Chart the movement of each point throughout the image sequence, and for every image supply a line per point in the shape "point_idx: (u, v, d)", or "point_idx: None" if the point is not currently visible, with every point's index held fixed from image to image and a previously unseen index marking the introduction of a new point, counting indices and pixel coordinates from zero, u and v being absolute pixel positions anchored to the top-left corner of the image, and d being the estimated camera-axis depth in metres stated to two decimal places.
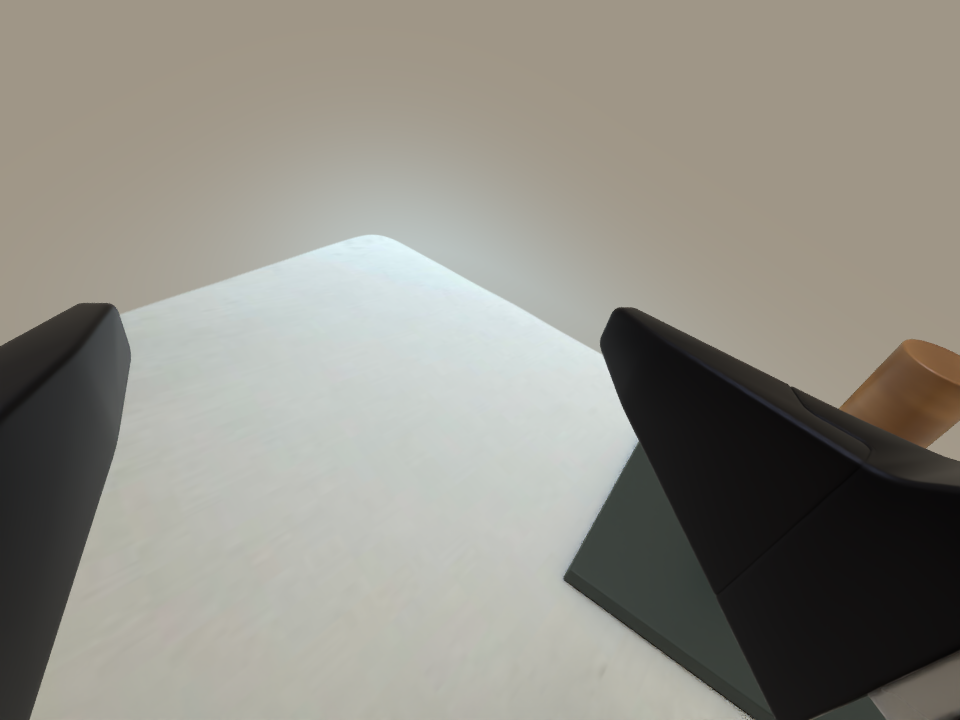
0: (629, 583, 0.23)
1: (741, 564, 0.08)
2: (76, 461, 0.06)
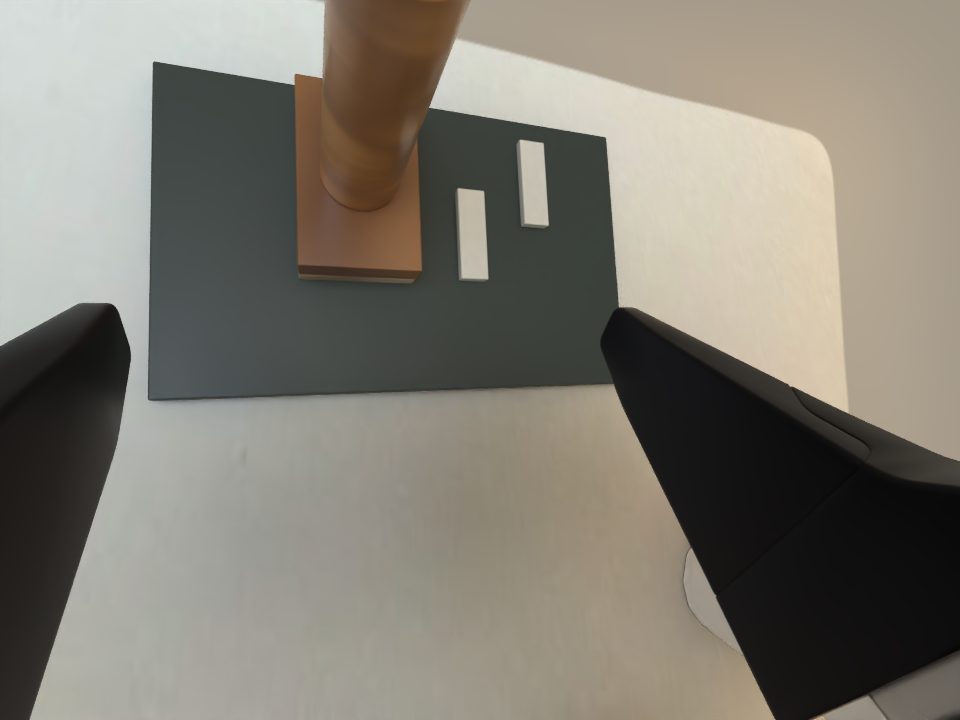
0: (226, 364, 0.19)
1: (741, 564, 0.08)
2: (76, 461, 0.06)
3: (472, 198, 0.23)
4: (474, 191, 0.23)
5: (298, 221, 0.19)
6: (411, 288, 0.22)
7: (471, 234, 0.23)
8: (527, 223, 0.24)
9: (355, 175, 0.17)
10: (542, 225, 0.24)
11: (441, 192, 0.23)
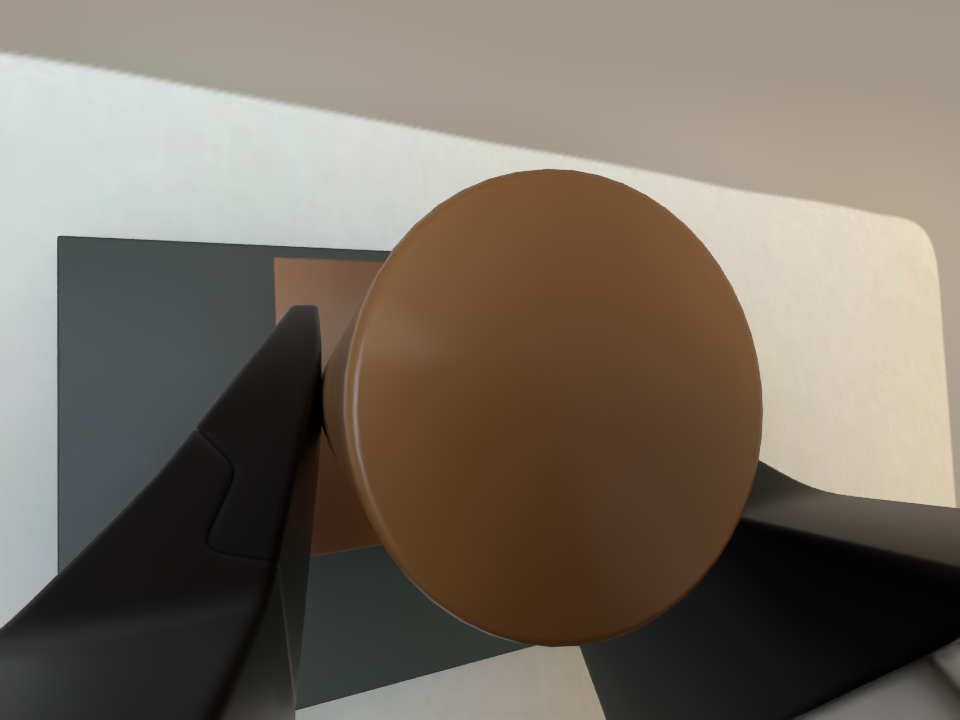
0: None
1: None
2: (316, 440, 0.07)
3: None
4: None
5: None
6: None
7: None
8: None
9: None
10: None
11: None
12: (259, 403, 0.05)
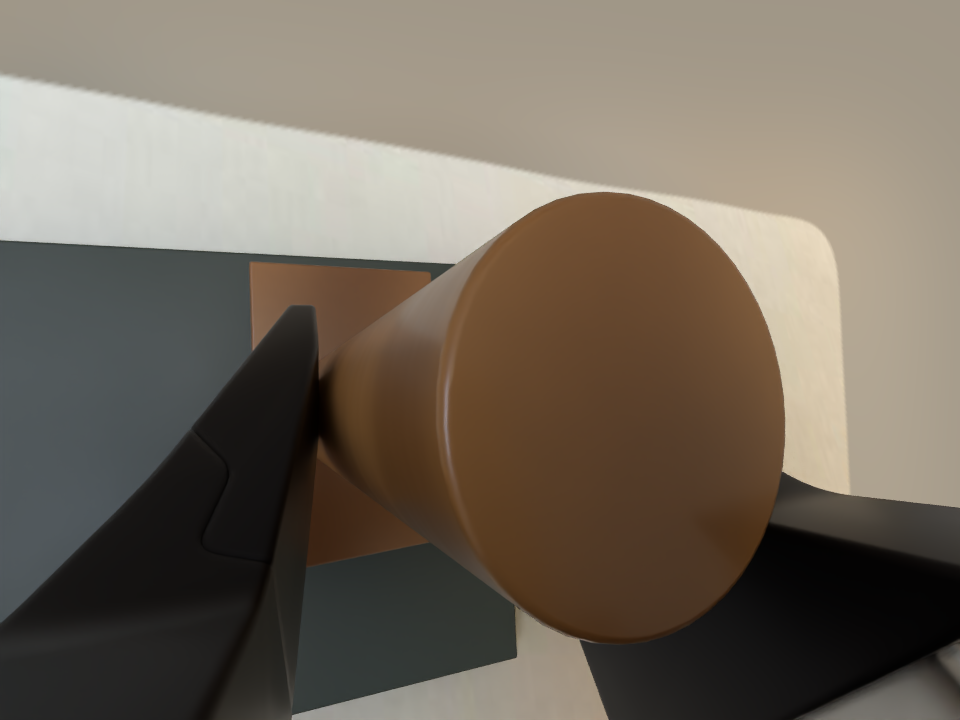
0: None
1: None
2: (313, 440, 0.07)
3: None
4: None
5: None
6: None
7: None
8: None
9: None
10: None
11: (194, 394, 0.14)
12: (255, 403, 0.05)
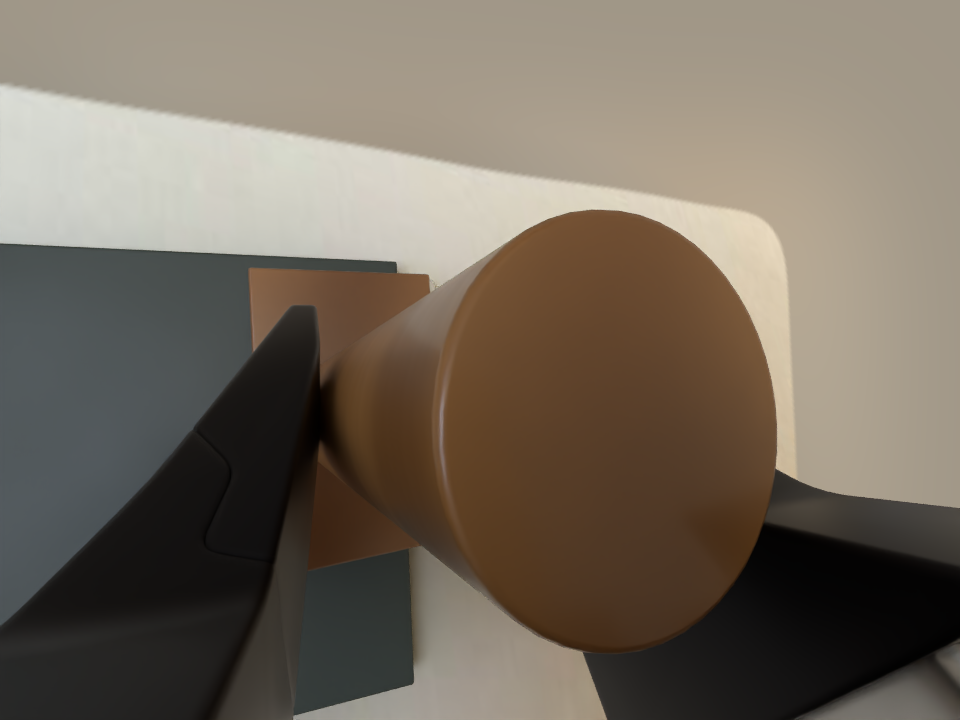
0: None
1: None
2: (315, 440, 0.07)
3: None
4: None
5: None
6: None
7: None
8: None
9: None
10: None
11: (35, 403, 0.13)
12: (257, 403, 0.05)
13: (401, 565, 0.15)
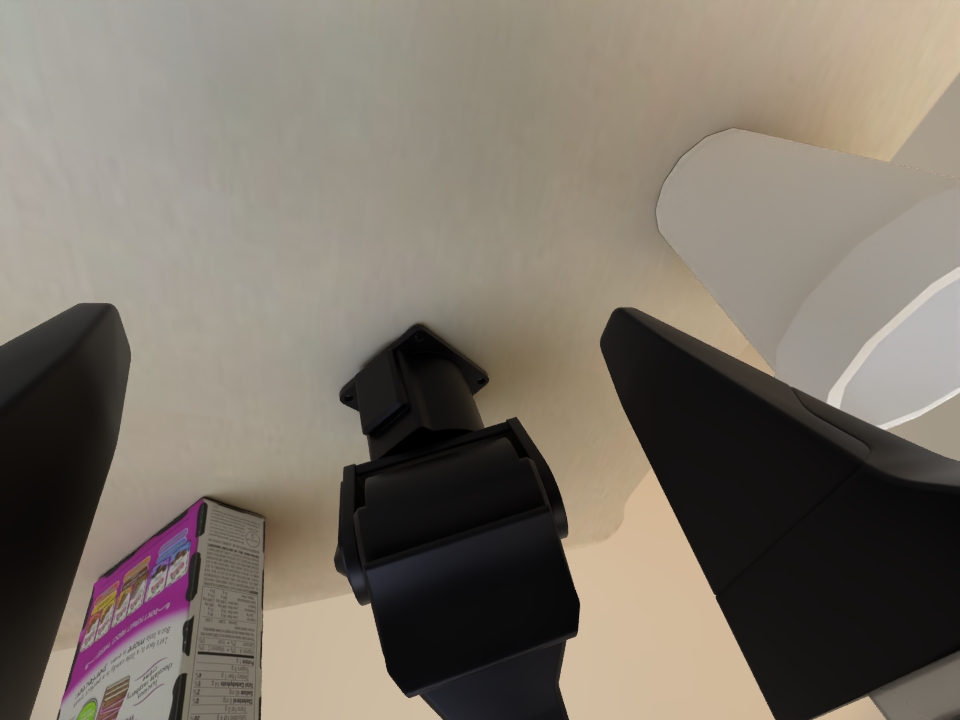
0: None
1: (740, 563, 0.08)
2: (76, 461, 0.06)
3: None
4: None
5: None
6: None
7: None
8: None
9: None
10: None
11: None
12: None
13: None
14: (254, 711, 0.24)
